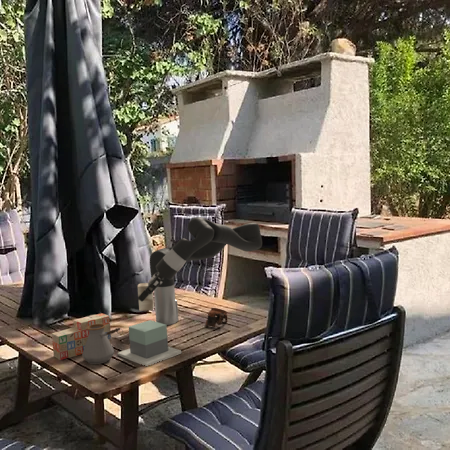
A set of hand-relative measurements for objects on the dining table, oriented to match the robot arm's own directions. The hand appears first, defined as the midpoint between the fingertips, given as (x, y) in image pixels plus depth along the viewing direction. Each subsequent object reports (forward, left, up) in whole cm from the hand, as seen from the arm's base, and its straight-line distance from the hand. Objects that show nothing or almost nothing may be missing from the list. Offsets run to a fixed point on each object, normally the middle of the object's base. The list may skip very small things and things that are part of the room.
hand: (140, 297), depth 190 cm
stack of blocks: (+12, -23, -22) cm, 35 cm away
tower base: (-1, +1, -22) cm, 22 cm away
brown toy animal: (-42, -4, -22) cm, 48 cm away
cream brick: (-1, +1, -4) cm, 5 cm away
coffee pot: (+14, -4, -22) cm, 26 cm away
